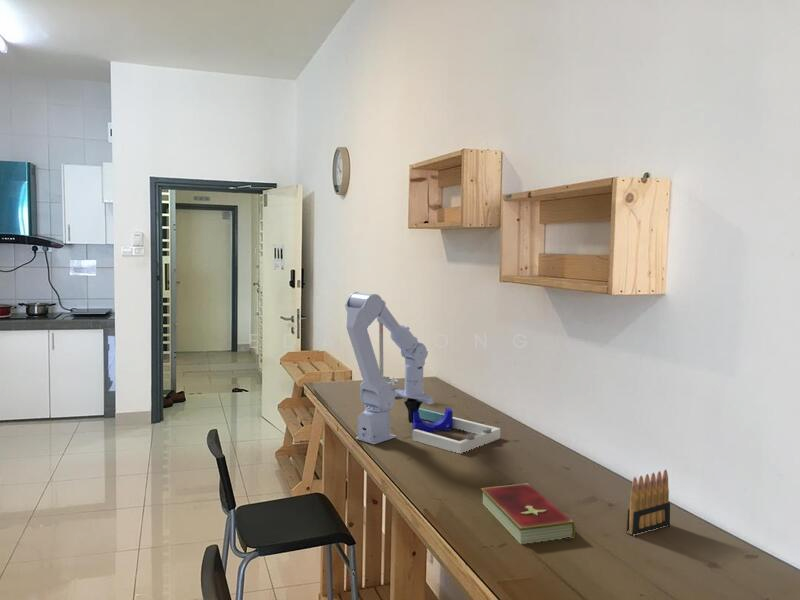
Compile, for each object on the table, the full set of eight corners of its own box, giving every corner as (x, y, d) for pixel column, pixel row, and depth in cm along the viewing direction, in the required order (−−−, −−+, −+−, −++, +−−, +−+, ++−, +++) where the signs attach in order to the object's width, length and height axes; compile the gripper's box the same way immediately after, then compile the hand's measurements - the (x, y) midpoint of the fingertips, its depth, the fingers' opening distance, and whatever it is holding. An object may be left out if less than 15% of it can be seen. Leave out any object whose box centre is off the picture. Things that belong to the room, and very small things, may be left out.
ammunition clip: (633, 536, 132) (635, 479, 131) (626, 533, 133) (628, 476, 132) (670, 525, 137) (672, 470, 136) (662, 522, 138) (665, 467, 137)
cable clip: (415, 433, 200) (415, 414, 199) (412, 428, 205) (412, 409, 204) (453, 431, 202) (453, 412, 201) (450, 426, 206) (450, 408, 205)
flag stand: (363, 389, 256) (362, 313, 253) (396, 388, 257) (396, 313, 254) (365, 398, 243) (364, 318, 240) (400, 397, 244) (399, 317, 241)
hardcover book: (529, 499, 152) (529, 481, 151) (575, 540, 131) (575, 520, 131) (480, 504, 149) (480, 487, 148) (520, 547, 128) (520, 527, 128)
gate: (408, 415, 219) (408, 406, 218) (410, 414, 220) (410, 405, 219) (447, 425, 207) (447, 416, 207) (450, 424, 208) (450, 415, 208)
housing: (461, 454, 181) (461, 441, 180) (412, 440, 194) (412, 427, 193) (501, 438, 195) (501, 426, 194) (453, 426, 207) (453, 414, 207)
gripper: (440, 381, 202) (439, 424, 203) (405, 374, 212) (405, 415, 213) (425, 385, 197) (424, 429, 198) (390, 377, 207) (390, 419, 208)
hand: (413, 422), depth 205 cm, fingers closed, pressing on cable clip
